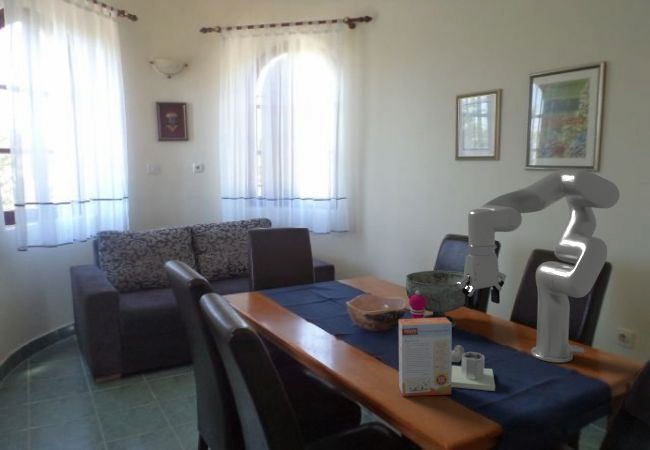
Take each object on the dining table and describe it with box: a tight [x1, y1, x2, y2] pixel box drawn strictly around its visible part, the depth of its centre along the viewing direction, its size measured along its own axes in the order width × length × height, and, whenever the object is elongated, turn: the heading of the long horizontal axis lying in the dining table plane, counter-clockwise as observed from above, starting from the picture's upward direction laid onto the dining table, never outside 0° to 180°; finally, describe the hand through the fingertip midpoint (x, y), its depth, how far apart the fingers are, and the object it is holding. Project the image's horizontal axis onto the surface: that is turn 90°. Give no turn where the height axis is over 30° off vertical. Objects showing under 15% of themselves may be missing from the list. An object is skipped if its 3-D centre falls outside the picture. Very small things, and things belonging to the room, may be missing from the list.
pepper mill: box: [408, 291, 426, 319], centre depth 177 cm, size 7×7×20 cm
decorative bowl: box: [405, 269, 471, 328], centre depth 200 cm, size 26×26×20 cm
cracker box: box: [398, 317, 453, 397], centre depth 142 cm, size 14×6×21 cm, turn 92°
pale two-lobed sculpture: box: [452, 344, 466, 363], centre depth 165 cm, size 4×8×5 cm
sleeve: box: [460, 351, 485, 380], centre depth 149 cm, size 6×6×6 cm
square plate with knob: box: [451, 357, 496, 392], centre depth 149 cm, size 12×12×6 cm
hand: (482, 305), depth 153 cm, fingers open, 9 cm apart
